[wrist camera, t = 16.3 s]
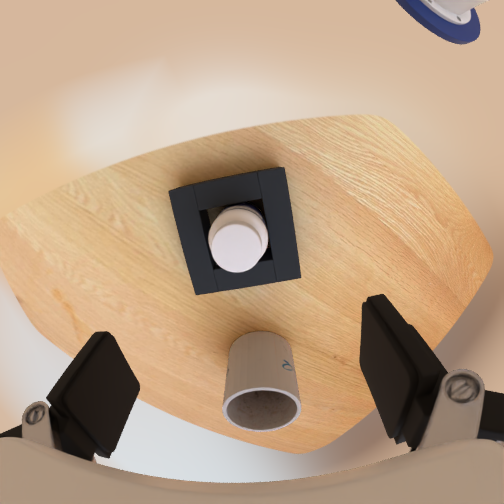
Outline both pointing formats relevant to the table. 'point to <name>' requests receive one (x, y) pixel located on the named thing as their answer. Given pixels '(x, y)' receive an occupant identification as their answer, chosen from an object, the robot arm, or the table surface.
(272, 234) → the socket pad
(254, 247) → the pill bottle
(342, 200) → the table surface
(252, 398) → the mug
